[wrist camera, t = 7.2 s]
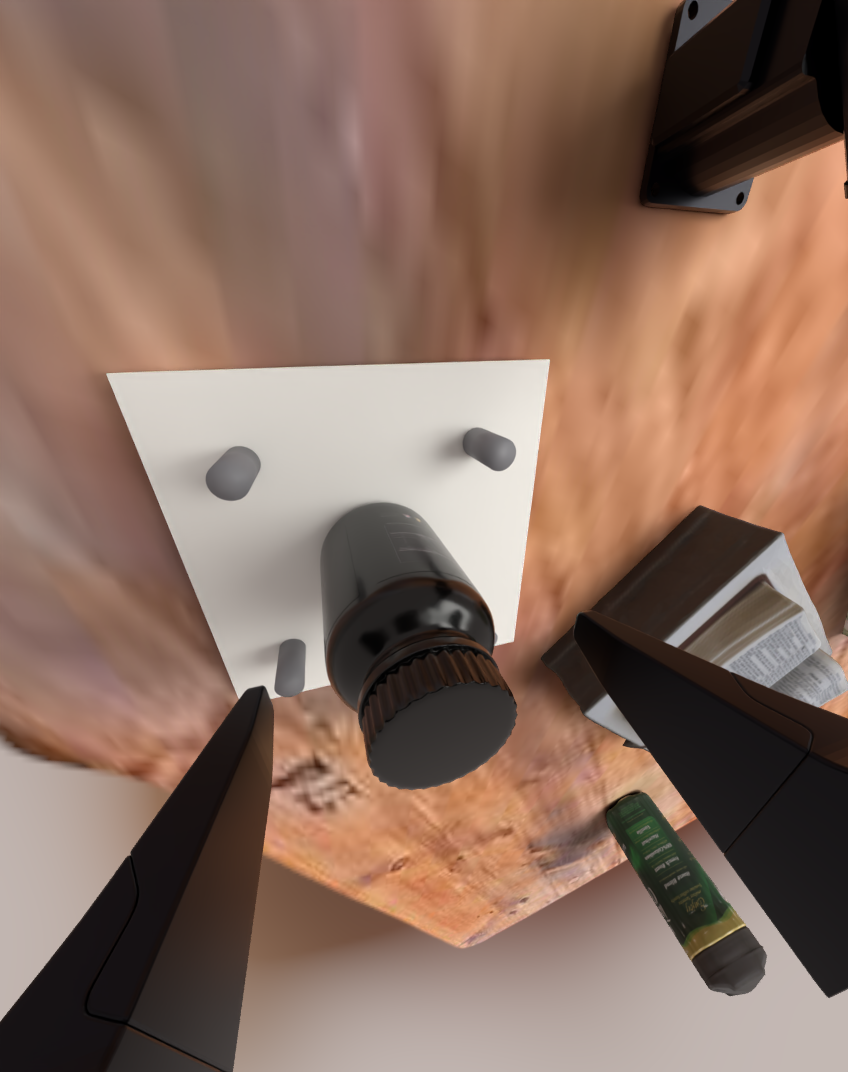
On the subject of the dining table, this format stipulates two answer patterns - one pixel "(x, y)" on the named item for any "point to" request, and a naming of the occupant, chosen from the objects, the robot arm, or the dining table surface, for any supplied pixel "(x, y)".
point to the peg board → (331, 486)
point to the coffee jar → (687, 898)
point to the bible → (714, 615)
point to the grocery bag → (846, 627)
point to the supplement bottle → (411, 649)
